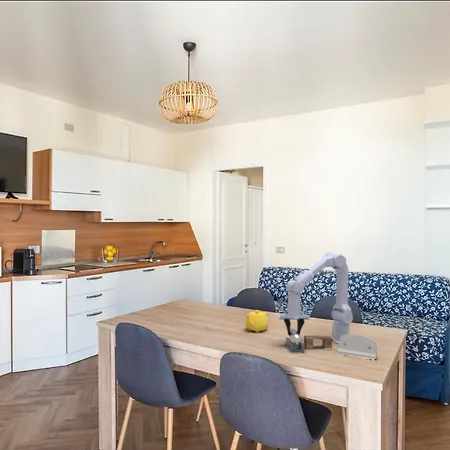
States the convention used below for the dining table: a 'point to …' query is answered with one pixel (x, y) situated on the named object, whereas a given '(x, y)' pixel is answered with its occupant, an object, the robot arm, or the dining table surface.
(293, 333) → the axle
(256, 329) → the teapot
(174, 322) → the dining table surface
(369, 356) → the hinge
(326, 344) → the beam
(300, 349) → the v block
